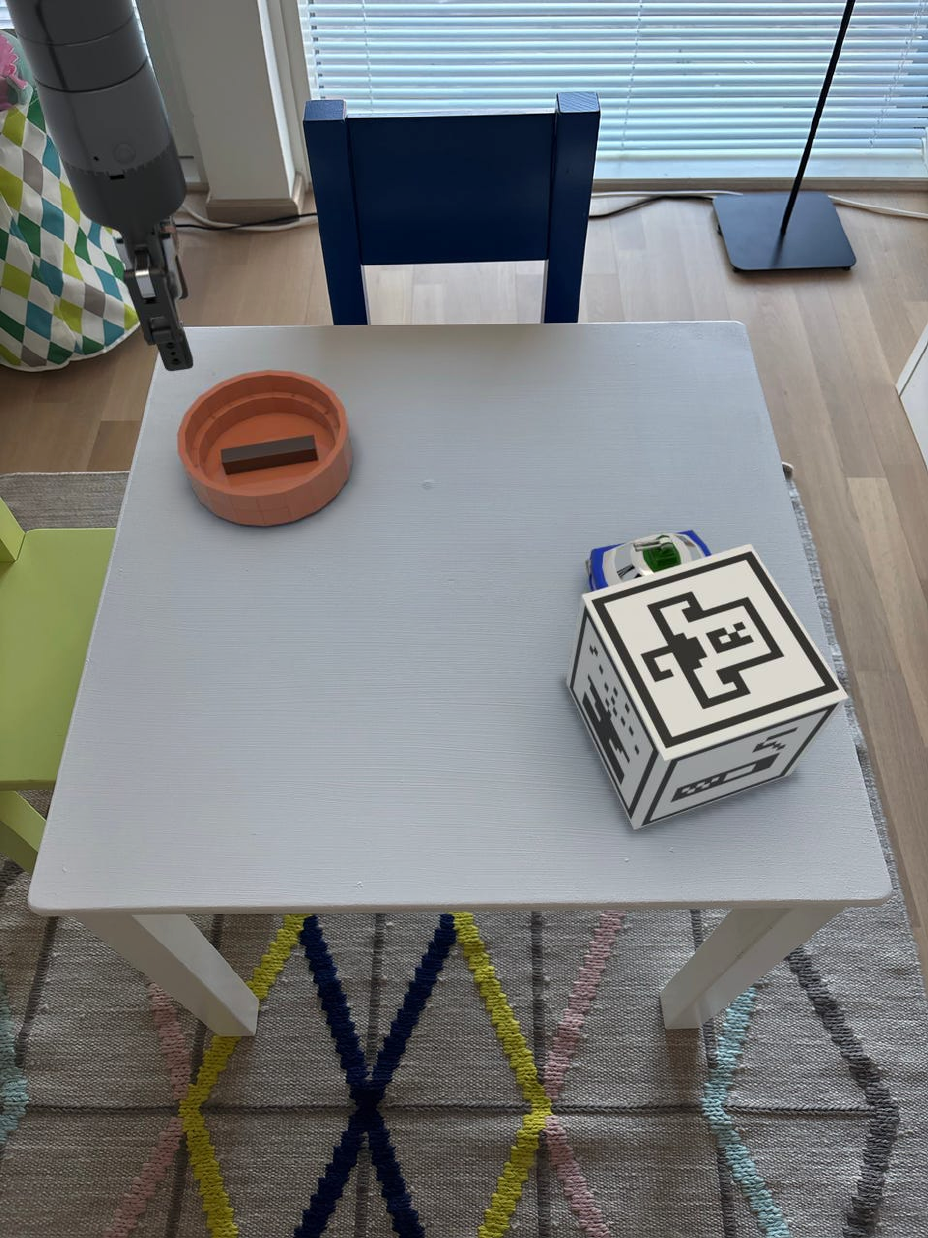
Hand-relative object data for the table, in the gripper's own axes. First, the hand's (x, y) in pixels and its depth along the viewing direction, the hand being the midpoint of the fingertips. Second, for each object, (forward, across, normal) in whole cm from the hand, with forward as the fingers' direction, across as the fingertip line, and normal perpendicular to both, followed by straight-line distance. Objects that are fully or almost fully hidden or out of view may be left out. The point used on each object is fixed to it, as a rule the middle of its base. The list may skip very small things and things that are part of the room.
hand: (178, 331), depth 74 cm
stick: (+25, -8, +4) cm, 26 cm away
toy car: (+25, +18, +39) cm, 49 cm away
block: (+25, +32, +36) cm, 54 cm away
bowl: (+25, -8, +4) cm, 27 cm away
